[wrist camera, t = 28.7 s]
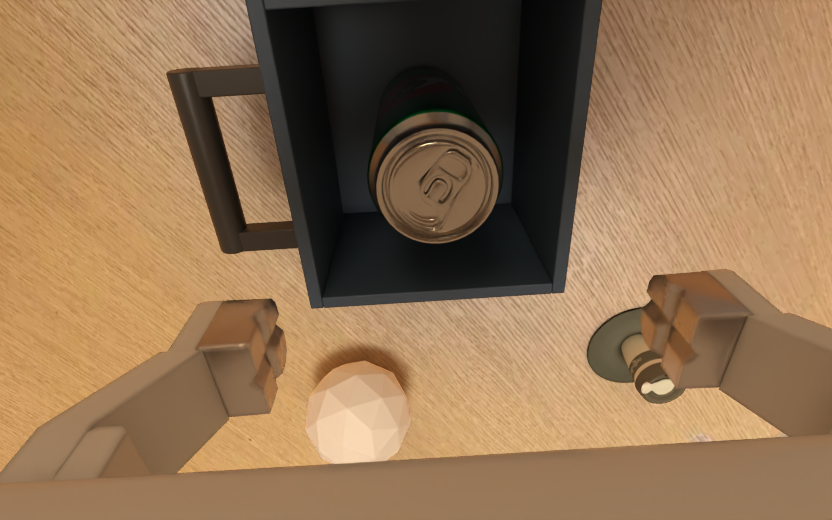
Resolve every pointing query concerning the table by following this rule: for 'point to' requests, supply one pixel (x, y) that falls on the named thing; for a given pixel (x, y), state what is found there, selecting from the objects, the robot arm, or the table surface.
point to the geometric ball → (357, 414)
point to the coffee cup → (630, 358)
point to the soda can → (432, 158)
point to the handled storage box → (354, 128)
